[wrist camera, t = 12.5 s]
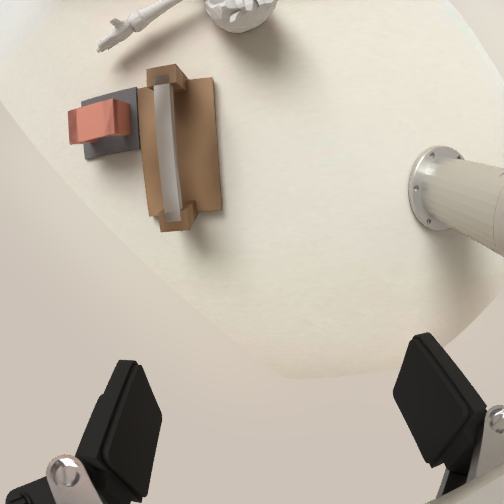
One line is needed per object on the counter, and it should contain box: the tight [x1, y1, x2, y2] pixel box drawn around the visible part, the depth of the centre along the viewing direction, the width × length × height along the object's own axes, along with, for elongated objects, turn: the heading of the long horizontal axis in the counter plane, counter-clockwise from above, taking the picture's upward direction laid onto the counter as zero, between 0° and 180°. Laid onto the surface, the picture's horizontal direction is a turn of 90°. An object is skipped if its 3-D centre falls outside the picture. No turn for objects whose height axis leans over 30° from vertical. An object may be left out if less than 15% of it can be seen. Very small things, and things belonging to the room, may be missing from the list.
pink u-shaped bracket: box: [68, 98, 131, 144], centre depth 28 cm, size 6×4×5 cm, turn 93°
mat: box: [81, 87, 140, 159], centre depth 30 cm, size 8×8×1 cm
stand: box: [138, 64, 222, 232], centre depth 29 cm, size 9×17×7 cm, turn 3°
